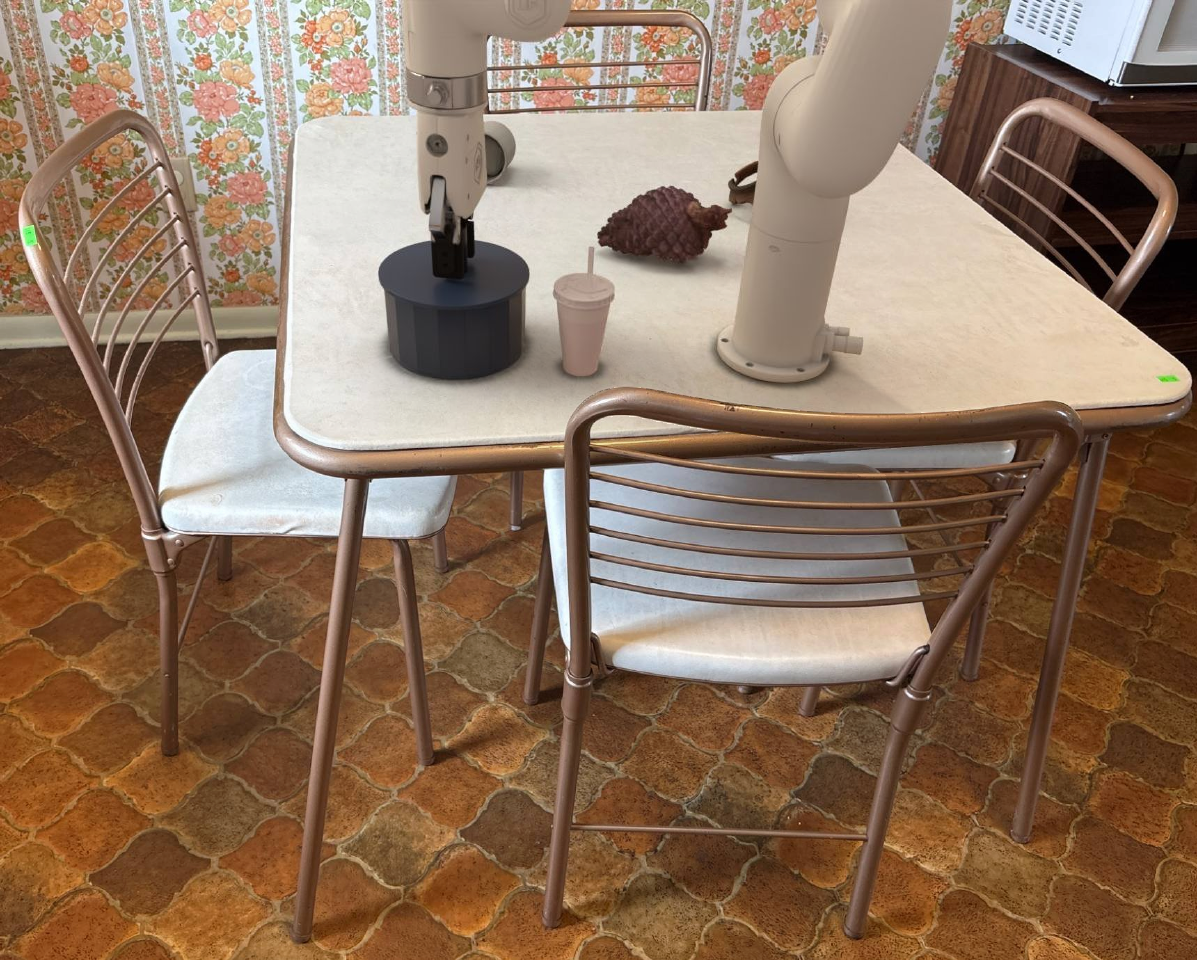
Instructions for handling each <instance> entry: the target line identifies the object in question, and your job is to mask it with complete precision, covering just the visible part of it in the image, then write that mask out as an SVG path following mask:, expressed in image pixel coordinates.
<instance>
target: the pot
mask: <svg viewBox="0 0 1197 960" xmlns="http://www.w3.org/2000/svg"><path fill="white" fill-rule="evenodd" d="M526 288H527V286H526V287H525V288H524V289H523V291H521V292H520V293H519V294H518V295H516V296H514V297H513V298H511V299H509V300H507V301H505V302H502V303H499V304H496V305H492V306H489V307H484V308H478V309H470V310H436V309H429V308H423V307H419V306H415V305H411V304H408V303H406V302H403V301H400V300H398V299H397V298H395V297H393V296H391V295H390V294H389V293H387V292H386V291H385V290H384V289H383V293H384V305H385V306H384V307H385V316H386V317H385V318H386V327H387V338H388V347H389V352H390V355H391V357H392V358H393V359H394V361H395V362H396V363H397V364H398V365H399V366H401V367H402V368H403V369H405V370H407V371H409V372H411V373H413V374H416V375H418V376H422V377H426V378H429V379H434V380H441V381H468V380H476V379H482V378H487V377H490V376H493V375H496V374H499V373H501V372H503V371H505V370H507V369H509V368H511V367H512V366H513V365H514V364H515V363H517V362H518V361H519V359H520V358H521V357H522V355H523V353H524V350H525V343H526V319H527V318H526V307H527V305H526V304H527V302H526V301H527V300H526V299H527V291H526V290H527V289H526Z"/></svg>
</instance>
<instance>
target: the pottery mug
mask: <svg viewBox="0 0 1197 960" xmlns="http://www.w3.org/2000/svg"><path fill="white" fill-rule="evenodd" d="M757 171H758V160H755V161H753V162H751V163H748V164H746V165H745V166H743V167H742V168H740V169H739V170H737V171H736V172H735V173H734V177H735V178H733V177H731V178H730V179H729V181H727V187H728V189H729V194H728V202H729V203H731V205H732V206H735V205H744V204H751V205H752V206H753V202H754V195H755V188H756V180H755V181H752V182H750V183H747V184H744V185H740V184H741V183H742V182H743V181H745V180H746V179H747V178H749V177H751V176H753V175H755V174H757Z"/></svg>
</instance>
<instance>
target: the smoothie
mask: <svg viewBox="0 0 1197 960" xmlns="http://www.w3.org/2000/svg"><path fill="white" fill-rule="evenodd" d="M594 261H595V247H594V246H588V256H587V272H586V273H585V272H575V273H574V272H573V273H568V274H565V275H563V276H560V277H558V279H556V280H555V281H554V284H553V290H552V297H553V298H554V300H555V301H556V308H557V310H556V311H557V318H558V320H557V321H558V328H559V330H558V331H559V338H560V347H561V349H560V350H561V358H562V366H563V367H562V368H563V370H564V371H565V372H566V373H567V374H570V375H572V376H575V377H589V376H591V375H593V374H595V373H596V372H597V371H598V367H599V362H600V358H601V357H600V356H601V352H602V347H603V342H604V337H605V332H606V327H607V322H608V317H609V313H610V308H611V303H612V302H614V300H615V296H616V295H615V291H616V289H615V285H614V283H613V282H612V281H610V280H609V279H608V278H606V277H605V276H601V275H598V274H594V263H595V262H594Z"/></svg>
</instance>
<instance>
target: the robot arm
mask: <svg viewBox="0 0 1197 960" xmlns="http://www.w3.org/2000/svg"><path fill="white" fill-rule="evenodd" d="M400 1H401V2H400V3H401V16H402V18H401V19H402V31H403V33H402V34H403V49H404V50H403V51H404V65H405V79H406V81H405V82H406V96H407V97H406V98H407V99H406V100H407V104H408V106H409V107H410V108H412V109H413V110H415V111H416V112H417V113H416V155H417V156H416V157H417V158H416V159H417V160H416V162H417V184H418V185H417V186H418V198H419V205H420V210H421V212H422V213H423V214H425V215H427V216H428V215H429V218H428V231H429V233H430V241H431V251H432V269H433V275H434V276H435V277H439V278H449V279H459V280H461V279H463V277H464V245H463V241H460V221H462V222H464V223H465V224H466V226H467V256H468V258H473V257H474V255H475V240H476V239H475V237H476V236H475V221H474V216H475V215H474V214H475V210H476V208H477V206H478V205H479V203H480V201H481V200H482V197H483V195H484V193H485V191H486V189H487V185H488V184H487V168H486V151H485V134H484V122H485V121H484V113H483V110H484V109H486V108H487V107H488V104H489V97H488V96H489V95H488V93H489V92H488V36H491V37H496V38H500V39H505V40H508V41H515V42H519V43H538V42H543V41H546V40H548V39H550V38H552V37H554V36H555V35H556V34H557V33H559V32H560V31H561V30H562V29H563V28H564V26H565V24H566V23H567V21H568V19H569V16H570V13H571V10H572V4H573V3H572V2H573V0H400ZM815 6H816V14H817V19H818V21H819V23H820V27H821V28H822V30H823V32H824V33H825V35H826V36H827V37H828V41H827V43H826V47H825V49H824V51H823V53H822V54H816V55H815V54H814V55H807V56H803V57H801V58H799V59H797V60H795V61H793V62H791V63H789V65H787V66H785V67H784V68H783V69H782V70H781V71H780V72H779V73H778V74H777V76H776V77H775V78H774V80H773V81H772V83H771V85H770V87H769V89H768V91H767V94H766V96H765V99H764V103H763V107H762V111H761V120H760V131H759V132H760V133H759V145H758V148H759V149H758V160H757V161H758V171H757V173H756V180H755V181H756V188H755V195H754V202H753V205H752V210H751V214H750V215H751V216H750V221H749V227H748V235H747V241H746V247H745V254H744V259H743V264H742V265H743V266H742V272H741V278H740V283H739V284H740V286H739V292H738V297H737V305H736V313H735V318H734V322H733V323H731V324H729V325H727V326H726V327H725V328H722V330H721V332H720V333H719V334H718V338H717V342H716V343H717V344H716V350H717V354H718V355H719V357H720V359H721V360H722V361H723V362H724V363H725V364H726V365H727V366H729V367H730V368H731V369H733V370H734V371H737V372H738V373H740V374H741V375H744V376H747V377H750V378H752V379H757V380H760V381H764V382H769V383H785V384H787V383H798V382H804V381H807V380H811V379H814V378H816V377H818V376H820V375H821V374H822V373H823V372H825V371H826V369H827V368H828V366H829V362H830V359H831V355H832V353H833V352H838V353H843V354H849V355H859V356H860V355H862V352H863V347H864V338H863V337H862V336H854V335H853V336H852V335H850V327H846V326H831V325H829V323H826V319H825V316H826V311H827V306H828V302H829V297H830V293H831V287H832V282H833V279H834V274H835V270H836V269H835V268H836V265H837V259H838V256H839V252H840V251H839V250H840V247H841V241H842V237H843V236H842V235H843V233H844V229H845V225H846V221H847V216H848V211H849V203H850V198H851V196H853V195H855V194H856V193H858V192H860V191H863V189H865V188H866V187H867V186H869V185H870V184H871V183H872V182H873V181H874V180H875V179H876V178H878V176H879V175H880V174H881V173H882V171H883V170H884V168H885V167H886V165H888V162H889V160H890V159H891V158H892V156H893V154H894V152H895V150H896V148H897V146H898V145H899V142H900V141H901V139H902V137H903V135H904V133H905V131H906V129H907V126H908V125H909V123H910V120H911V119H912V116H913V115H914V112H915V110H916V109H917V107H918V104H919V102H920V100H921V98H922V97H923V94H924V92H925V90H926V88H927V87H928V84H929V82H930V79H931V78H932V75H933V73H934V72H935V69H936V67H937V65H938V63H939V61H940V59H941V56H942V54H943V51H944V49H945V46H946V43H947V40H948V36H949V33H950V30H951V29H950V28H951V24H952V23H951V22H952V15H953V14H952V13H953V8H952V0H816V2H815ZM448 220H453V230H452V228H451V226H450V224H446V222H445V221H448Z"/></svg>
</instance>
